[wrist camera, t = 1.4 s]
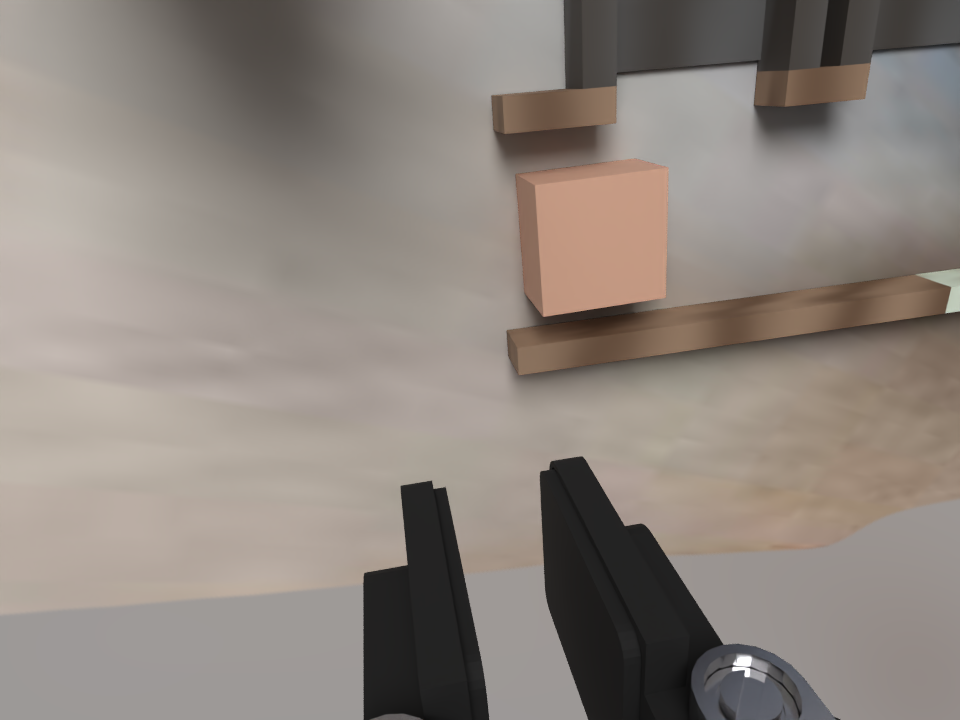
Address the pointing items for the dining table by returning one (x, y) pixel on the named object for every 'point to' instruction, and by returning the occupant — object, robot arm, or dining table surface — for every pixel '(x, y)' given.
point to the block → (593, 235)
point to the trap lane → (780, 82)
